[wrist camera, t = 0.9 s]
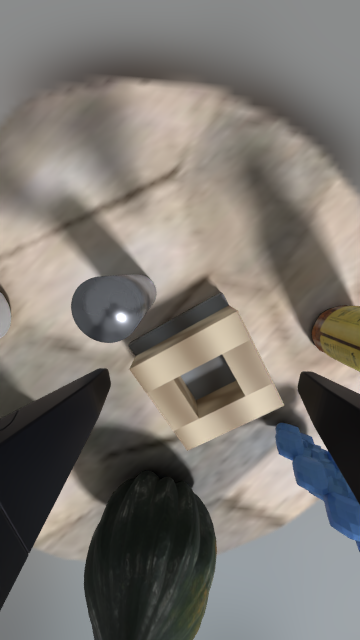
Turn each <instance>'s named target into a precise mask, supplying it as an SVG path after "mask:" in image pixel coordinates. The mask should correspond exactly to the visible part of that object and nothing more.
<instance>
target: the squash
mask: <svg viewBox="0 0 360 640" xmlns="http://www.w3.org/2000/svg"><path fill="white" fill-rule="evenodd" d="M216 554H217V547H216V537H215V532H214V527H213V523H212V520H211V517H210V515H209V512H208V510H207V509H206V507H205V505H204V504H203V502H202V501H201V499H200V498H199V497H198V496H197V495H196V494H194V492H193V490H192V489H191V487H190V486H189V485H188V484H187V483H185V482H183V481H180V482H178V483H176V484H175V482H174V480H173V479H172V478H170V477H164V478H162V479H161V480H160V479H159V477H158V476H157V475H156V474H155V473H153V472H151V471H144V472H142V473H140V474H139V475H138V476H137V477H136V479H130V480H128V481H126V482H125V483H123V484H122V485H121V486H120V487H119V488H118V489H117V490H116V491H115V492H114V493H113V494H112V496H111V498H110V500H109V501H108V503H107V506H106V508H105V510H104V513H103V515H102V518H101V520H100V523H99V524H98V526H97V528H96V530H95V532H94V534H93V537H92V539H91V543H90V546H89V550H88V554H87V559H86V564H85V572H84V590H85V597H86V602H87V607H88V613H89V617H90V621H91V624H92V629H93V634H94V640H193V639H194V637H195V635H196V634H197V632H198V630H199V627H200V624H201V621H202V618H203V616H204V613H205V609H206V605H207V600H208V594H209V590H210V588H211V584H212V581H213V576H214V572H215V564H216Z"/></svg>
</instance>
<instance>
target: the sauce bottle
mask: <svg viewBox="0 0 360 640" xmlns="http://www.w3.org/2000/svg"><path fill="white" fill-rule="evenodd" d="M312 339H313V341H314V344H315V345H316V347H317V348H318V349H319V350H320V351H322V352H324V353H326V354H327V355H328V356H330V357H331V358H333V359H335V360H337V361H339V362H341V363H343V364H345V365H347V366H349V367H351V368H353V369H355V370H357V371H359V372H360V306H347V305H343V306H337V307H334V308H331V309H328V310H327V311H325V312H323V313H322V314H320V316H319V317H318V319H317V320H316V322H315V324H314V327H313V329H312Z"/></svg>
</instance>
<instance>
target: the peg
mask: <svg viewBox="0 0 360 640" xmlns="http://www.w3.org/2000/svg"><path fill="white" fill-rule="evenodd" d="M156 293H157V292H156V287H155V285H154V283H153V282H152V280H151V279H149V278H148V277H147V276H144V275H141V274H131V275H116V276H101V277H94V278H91V279H88V280H86V281H85V282H83V283H82V284H81V285H80V286H79V287H78V288H77V289H76V291H75V293H74V295H73V298H72V303H71V310H72V315H73V318H74V321H75V323H76V324H77V326H78V327H79V329H80V330H81V331H82V332H83V333H84V334H86V335H87V336H88V337H90V338H92V339H94V340H96V341H100V342H105V343H113V342H118V341H121V340H123V339H125V338H126V337H128V336H129V335H130V334H131V333H132V332H133V331H134V330H135V328H136V327H137V326H138V324H139V323H140V321H141V320H142V318H143V317H144V316H145V314H146V313H147V311H148V310H149V309H150V307H151V306H152V304H153V303H154V301H155V299H156Z"/></svg>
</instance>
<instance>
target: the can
mask: <svg viewBox="0 0 360 640" xmlns="http://www.w3.org/2000/svg"><path fill="white" fill-rule="evenodd" d="M10 324H11V312H10V308H9V304H8V303H7V301H6V299H5V298H4V296H3V294H2V293H1V292H0V338H2V337H3V336H4V335H5V334H6V333H7V331H8V329H9V327H10Z"/></svg>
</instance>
